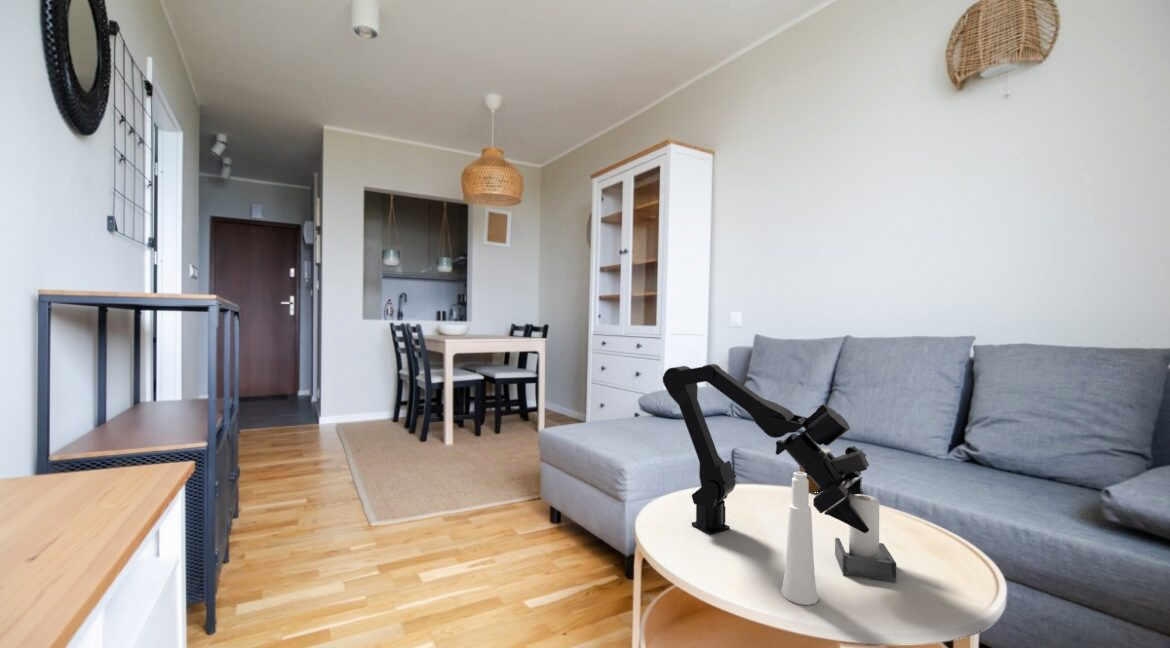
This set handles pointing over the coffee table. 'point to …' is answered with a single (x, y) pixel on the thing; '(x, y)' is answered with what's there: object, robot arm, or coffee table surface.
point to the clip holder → (866, 564)
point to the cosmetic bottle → (800, 546)
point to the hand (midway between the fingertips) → (870, 524)
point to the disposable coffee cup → (812, 485)
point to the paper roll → (869, 512)
